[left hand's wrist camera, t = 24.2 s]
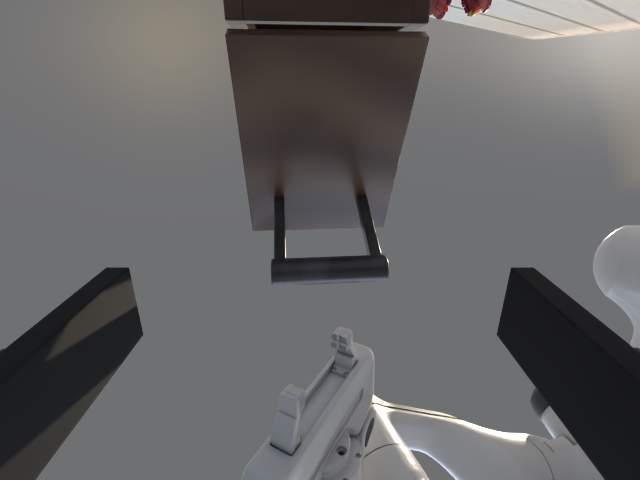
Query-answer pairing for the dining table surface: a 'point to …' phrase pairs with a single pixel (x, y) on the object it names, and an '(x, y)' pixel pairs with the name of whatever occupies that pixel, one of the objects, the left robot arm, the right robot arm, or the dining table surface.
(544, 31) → the dining table surface
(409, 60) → the lid
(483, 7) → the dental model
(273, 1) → the chest
